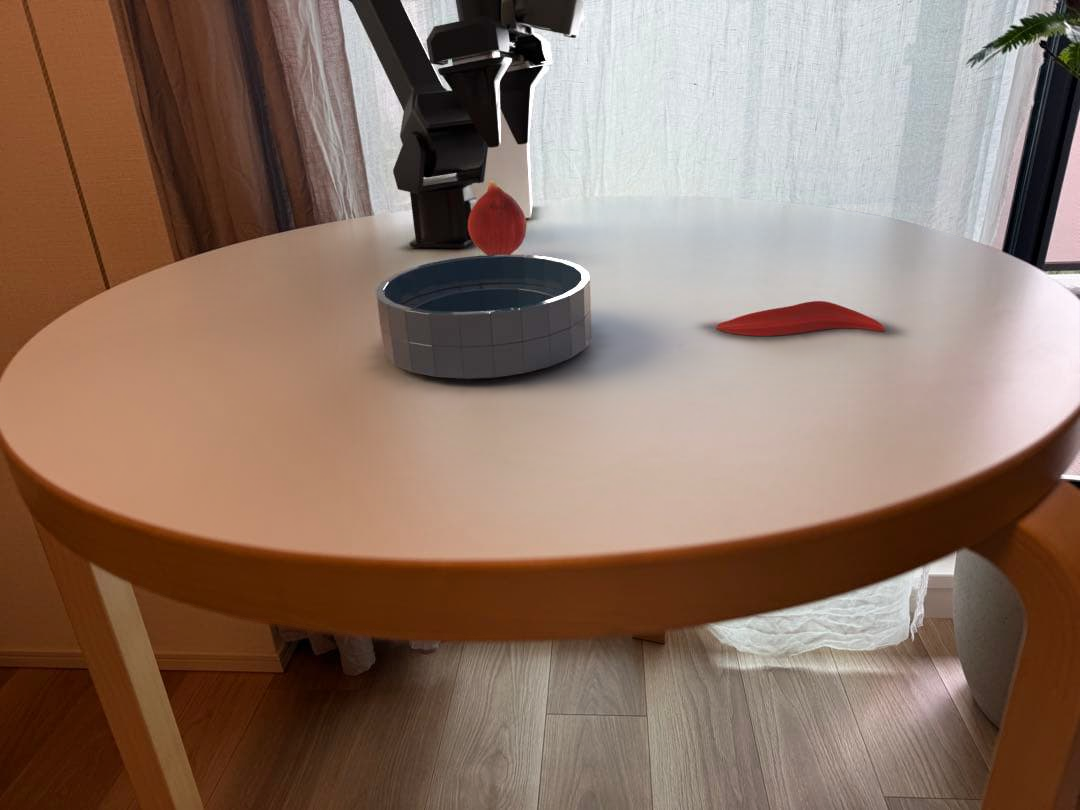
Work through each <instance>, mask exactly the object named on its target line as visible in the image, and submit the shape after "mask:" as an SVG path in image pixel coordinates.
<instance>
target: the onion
mask: <svg viewBox="0 0 1080 810" xmlns="http://www.w3.org/2000/svg"><path fill="white" fill-rule="evenodd" d="M468 231H469V235H470V238H471V239H472V241H473V242H472V243H474V245H475V246H476V248H478V249H479V250H480V251H482V252H483V253H484V255H513V253H514V252H516V251H517V250H518V249H519V247H520V246H521V245H522V244H523V242H524V239H525V238H526V235H527V234H526V233H527V218H525V215H524V213H523V210H522V209H521V208H520V206H519V205H518V204H517V202H516V201H515V200H514V199H513V197H511V196H510V195H509V194H507V193H505V192H504V191H503V190H502V189H501V188H499V187H498V186H497V184H496V183H495V182H494V181H489V186H488V190H487V192H486V193H485V194H484V195H483V196H482V197H481V198H480V199H479V200H478V201H477V202H476V204H475V205H474V207H473V209H472V211H471V213H470V215H469V219H468Z"/></svg>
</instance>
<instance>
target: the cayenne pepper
mask: <svg viewBox="0 0 1080 810" xmlns="http://www.w3.org/2000/svg"><path fill="white" fill-rule="evenodd" d="M715 328H716V329H717V330H719V331H722V332H724V333H725V332H726V333H729V334H733V335H734V334H735V335H741V336H755V337H756V336H757V337H771V336H784V335H795V334H803V333H808V332H814V331H815V332H816V331H821V330H822V331H823V330H832V329H859V330H860V329H862V330H868V331H869V330H870V331H876V332H886V329H885V327H884V326H883V324H882V323H881V322H880V321H878V320H876V319H874V318H872V317H871V316H868V315H866V314H863V313H861V312H859V311H857V310H854V309H851V308H848V307H845V306H843V305H840V304H837V303H833V302H829V301H825V300H813V301H805V302H802V303H797V304H793V305H788V306H782V307H776V308H771V309H765V310H759V311H754V312H750V313H747V314H743V315H740V316H738V317H735V318H731V319H728V320H725V321H722V322H720V323H718V324H717V325H716V326H715Z"/></svg>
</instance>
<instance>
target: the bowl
mask: <svg viewBox="0 0 1080 810" xmlns="http://www.w3.org/2000/svg"><path fill="white" fill-rule="evenodd" d="M374 293H375V300H376V304H377V305H376V306H377V315H378V320H379V328H380V335H381V342H382V349H383V353H384V357H385V359H387V360H388V361H389V362H390V363H392V364H393V365H394V366H395V367H397V368H400V369H403V370H405V371H408V372H409V373H413V374H418V375H423V376H424V375H425V376H429V377H430V376H431V377H434V378H435V377H437V378H446V379H447V378H448V379H465V380H470V379H471V380H472V379H473V380H474V379H494V378H502V377H509V376H514V375H516V376H517V375H521V374H526V373H530V372H534V371H538V370H541V369H546V368H550V367H552V366H555V365H558V364H560V363H562V362H565V361H567V360H570V359H572V358H573V357H575V356H576V355H578V354H580V353H581V352H582V351H584V350H585V349H586V347H587V346H588V345H589V343H590V342H591V339H592V306H591V305H592V304H591V278H590V273H589V272H588V271H587V270H586V269H585V268H584V267H582V265H580V264H576V263H574V262H571V261H569V260H566V259H565V260H564V259H560V258H554V257H551V256H543V255H542V256H539V255H529V254H511V255H486V254H484V255H472V256H464V257H457V258H456V257H455V258H449V259H444V260H438V261H433V262H428V263H425V264H420V265H417V266H413V267H410V268H407V269H405V270H403V271H402V270H401V271H400V272H399V271H398V272H397V273H394V274H392V275H390V276H388V277H387V278H386V279H384V280H382V281H381V282H380V283H379V284H378V285H377V287H376V288H375V290H374Z"/></svg>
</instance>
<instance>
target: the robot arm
mask: <svg viewBox="0 0 1080 810" xmlns="http://www.w3.org/2000/svg"><path fill="white" fill-rule="evenodd" d="M347 1H348V2H350V3H351V5H352V6H353V8H354V10H355V12H356V14H357V16H358V18H359V20H360V23H361V25H362V27H363V29H364V31H365V33H366V35H367V37H368V39H369V41H370V44H371V45H372V47H373V50H374V52H375V54H376V57H377V59H378V60H379V62H380V65H381V66H382V69H383V70H384V73H385V76H386V77H387V79H388V81H389V83H390V86H391V87H392V90H393V91H394V93H395V96H396V98H397V100H398V102H399V104H400V106H401V108H402V112H403V114H402V119H401V126H400V131H399V138H400V142H401V144H402V145H401V148H400V151H399V153H398V156H397V158H396V161H395V164H394V166H393V169H392V173H393V177H394V181H395V184H396V188H397V190H399V191H403V192H408V193H409V197H410V204H411V214H412V221H413V231H414V236H415V237H414V239H413V240H411V241H409V247H410V248H443V249H444V248H445V249H446V248H448V249H449V248H451V249H453V248H455V249H461V248H465V247H467V246H468V245H470V244H471V243H474V242H473V241H472V239H471V238H470V235H469V231H468V219H469V215H470V213H471V211H472V209H473V207H474V205H475V204H476V202H477V201H478V199H477V198H476V197H473V187H472V184H473V183H483V182H484V176H485V168H486V160H487V152H488V147H489V148H493V147H498V146H500V142H501V123H500V109H501V111H502V113H503V115H504V118H505V120H506V122H507V124H508V126H509V128H510V130H511V132H512V134H513V136H514V138H515V140H516V142H517V144H519V145H521V144H527V143H528V142H529V143H530V131H531V123H532V122H531V121H532V112H533V104H534V103H533V101H534V94H535V88H536V86H537V84H538V83H539V81H540V80H541V79H542V77H543V76H544V75H545V74H546V73H547V72H548V71H549V69H550V66H548V65H551V64H553V58H552V57H553V56H552V50H551V49H552V48H551V43H550V42H549V41H548V40H547V39H545V38H544V37H543V36H541V35H540V34H537V33H535V29H537V30H543V31H546V32H547V31H548V32H552V33H556V34H560V35H563V37H565V38H569V39H578V38H579V32H580V27H581V23H583V22H584V21H585V19H586V16H585V13H584V5H585V1H584V0H455V6H456V11H457V16H458V17H457V18H458V21H452V22H448V23H444V24H438V25H434V26H433V28H432V29H431V31H430V32H429V35H428V36H427V38H426V39H425V41H426V47H427V50H426V49H425V47H424V45H423V42H422V41H421V38H420V36H419V34H418V32H417V30H416V28H415V26H414V24H413V22H412V20H411V18H410V16H409V14H408V12H407V10H406V8H405V6H404V3H403V2H402V0H347ZM449 61H451V64H452V65H449V66H445V65H448V64H449ZM434 65H435V66H436V65H437V66H442V67H439V68H437V71H436V69H435V67H434ZM443 66H444V67H443ZM437 72H438V73H437ZM439 76H442V78H443V79H444V81H445V82H446V83H447V85H448V86H449V88H450V90H448V89H447V88H446V87H444V85H443V83H442V81H441V79H440V77H439Z"/></svg>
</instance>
